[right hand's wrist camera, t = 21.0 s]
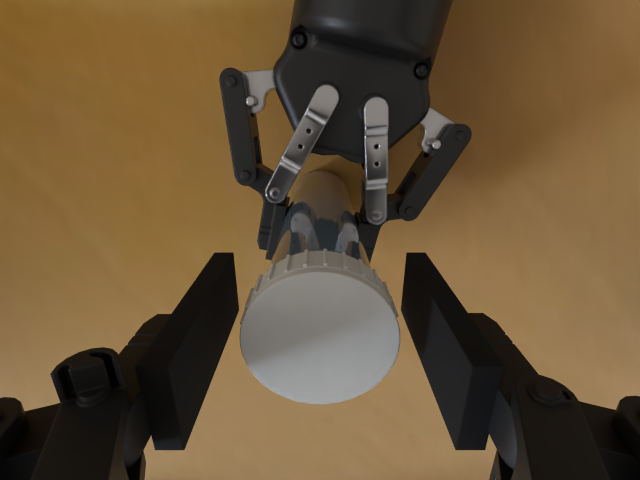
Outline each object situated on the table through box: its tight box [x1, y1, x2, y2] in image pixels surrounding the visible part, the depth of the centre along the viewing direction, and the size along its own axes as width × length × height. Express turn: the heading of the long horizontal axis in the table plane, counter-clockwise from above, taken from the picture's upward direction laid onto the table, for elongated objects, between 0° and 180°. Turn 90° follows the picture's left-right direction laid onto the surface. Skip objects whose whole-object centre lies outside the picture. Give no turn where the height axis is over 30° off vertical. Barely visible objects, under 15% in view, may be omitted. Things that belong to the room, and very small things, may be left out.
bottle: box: [269, 170, 371, 269], centre depth 19 cm, size 4×4×17 cm
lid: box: [240, 249, 400, 404], centre depth 12 cm, size 5×5×2 cm
